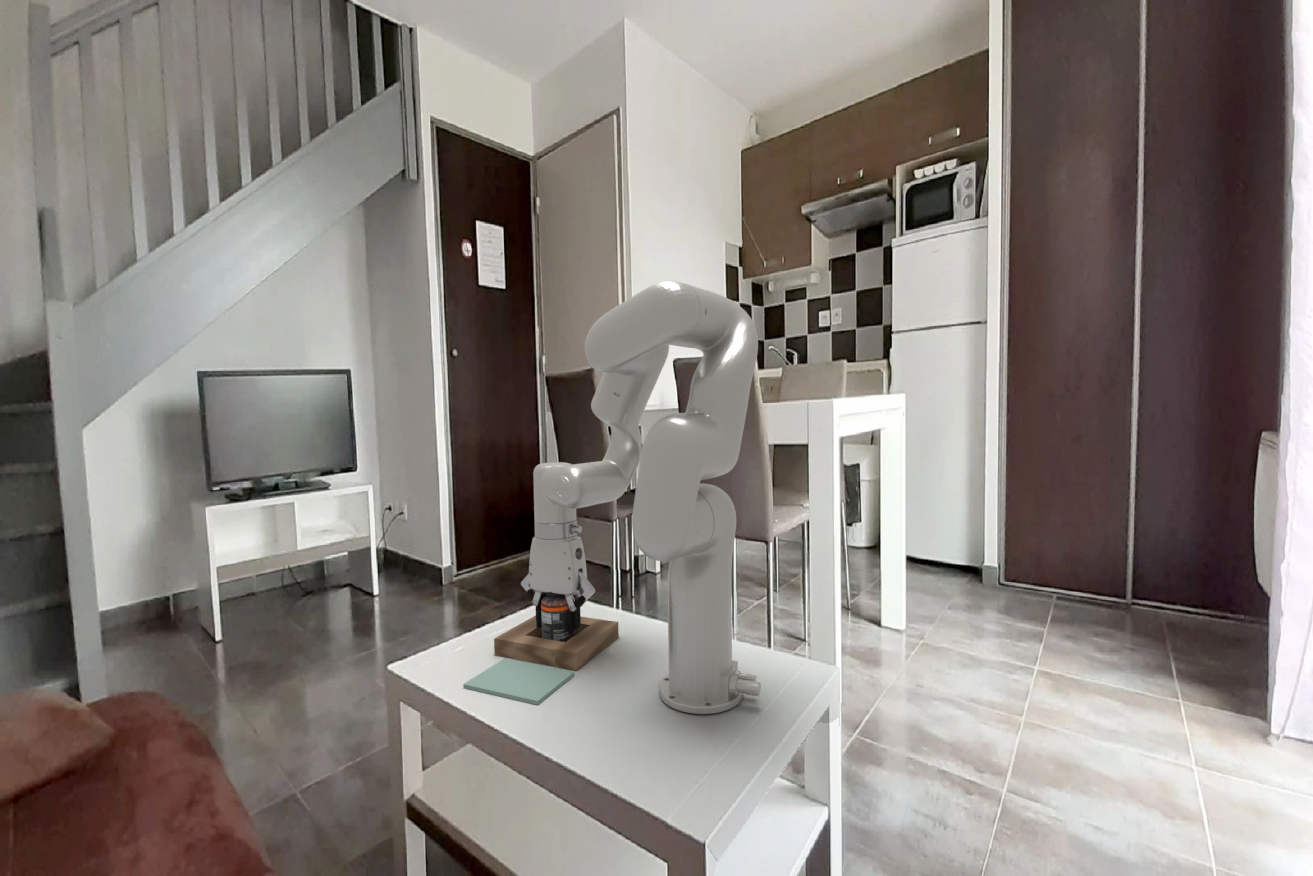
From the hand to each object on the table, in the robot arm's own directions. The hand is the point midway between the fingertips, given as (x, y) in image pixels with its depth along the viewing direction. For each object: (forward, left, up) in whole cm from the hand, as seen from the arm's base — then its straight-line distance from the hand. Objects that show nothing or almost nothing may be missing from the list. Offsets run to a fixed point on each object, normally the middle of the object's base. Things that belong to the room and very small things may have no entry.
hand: (558, 626), depth 102 cm
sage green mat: (-2, +14, -4) cm, 15 cm away
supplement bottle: (0, 0, -4) cm, 4 cm away
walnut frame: (0, 0, -4) cm, 4 cm away
